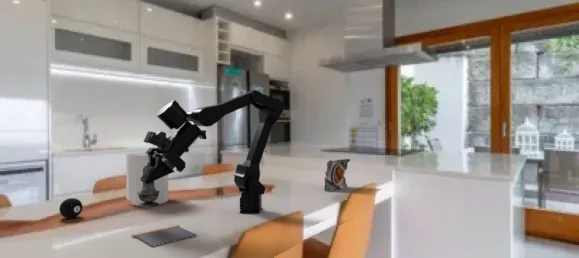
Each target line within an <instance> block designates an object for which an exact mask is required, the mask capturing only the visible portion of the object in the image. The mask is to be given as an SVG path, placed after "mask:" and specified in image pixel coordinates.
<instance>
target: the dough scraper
mask: <svg viewBox="0 0 579 258" xmlns="http://www.w3.org/2000/svg"><path fill="white" fill-rule="evenodd" d="M195 235H197V236H198V233H197V234H196V233H194V232H192V231H190V230H187V229H185V228H184V227H183V228H182V227H181V226H180V225H179V224H174V225H171V226H170V225H169V226H166V227H161V228H155V229H153V230H148V231H143V232H138V233H134V234H131V236H130V237H131V238H133V239H134V238H136V239H137V240H139V241H140V242H142V241H143V242H142V243H144V242H145V243H144V244H146V243H147V244H148V245H147V244H146V245H147V246H149V245H151V246H154V245H158V244H162V243H166V244H168V243H167V242H170V243H172V242H171V241H174V240H178V241H180V240H179V239H182V240H184V239H183V238H186V237H190V238H193V237H192V236H194V237H196V236H195ZM186 239H187V238H186ZM174 242H175V241H174ZM162 245H163V244H162ZM151 246H150V247H151ZM158 246H159V245H158ZM154 247H155V246H154Z"/></svg>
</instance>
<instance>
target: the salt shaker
mask: <svg viewBox="0 0 579 258" xmlns="http://www.w3.org/2000/svg"><path fill="white" fill-rule="evenodd" d="M147 164H148V165H147V166H145V167H144V168H143V178H142V180H143V188H142V190H141V191H140V192H138V193H137V194H138V195H139V199H140V200H141V201H143V203H141V204H139V206H138V207H139V208H153V207H154V208H155V207H158V206H159V205H160V204H159V203H157V202H153V201H155V200H156V199H157V198H158V196H159V193H160V191H158V190H156V189H155V186H154V181H153V182H151V183H149V184H146V183H145V182H144V181H145V179H146V178H147V176H148V175H149V174H150V172H151V171H152V169H153V168H154V167H152V166H150V165H149V162H148V163H147Z"/></svg>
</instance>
